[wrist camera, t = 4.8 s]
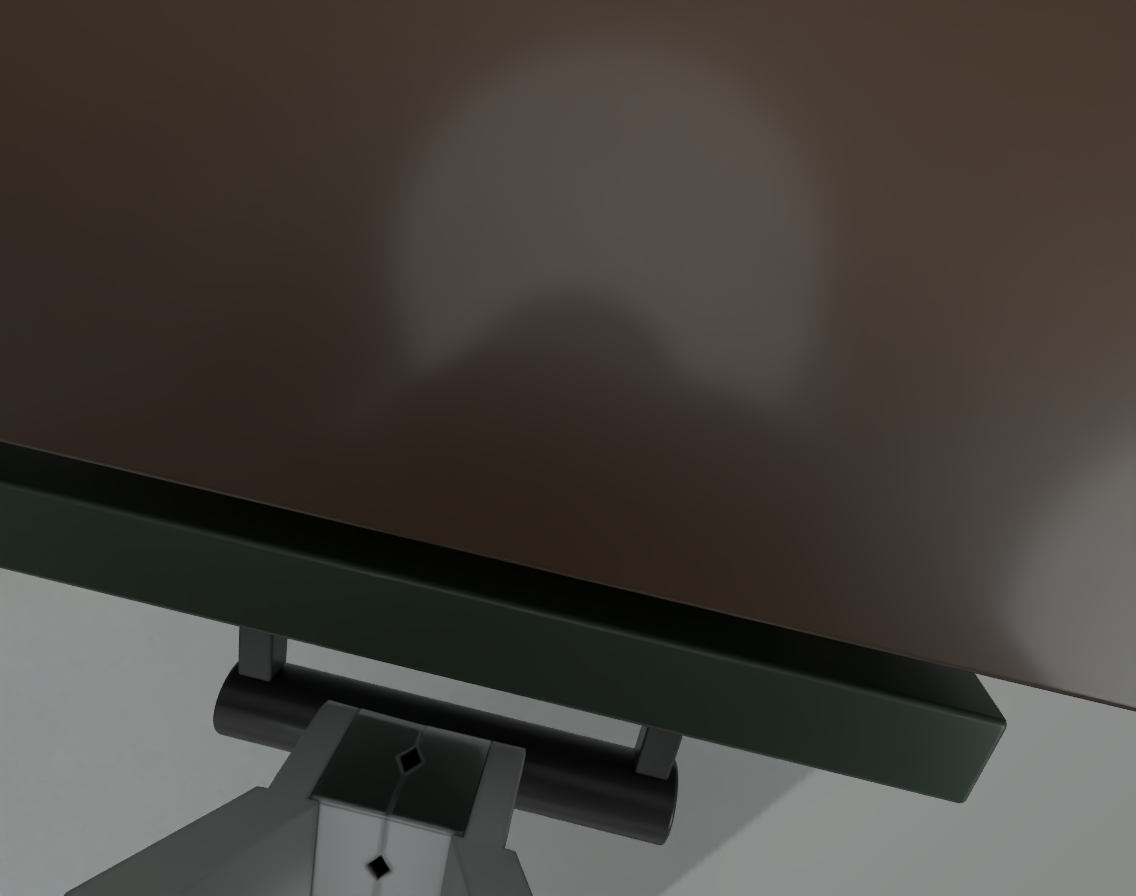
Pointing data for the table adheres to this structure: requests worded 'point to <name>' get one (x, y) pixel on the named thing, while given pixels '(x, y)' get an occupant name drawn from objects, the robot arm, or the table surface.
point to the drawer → (492, 646)
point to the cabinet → (612, 293)
